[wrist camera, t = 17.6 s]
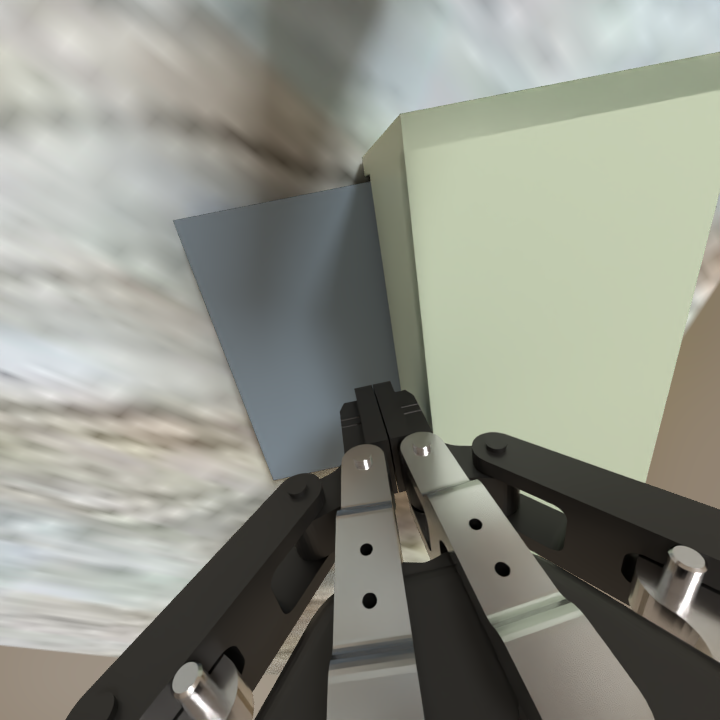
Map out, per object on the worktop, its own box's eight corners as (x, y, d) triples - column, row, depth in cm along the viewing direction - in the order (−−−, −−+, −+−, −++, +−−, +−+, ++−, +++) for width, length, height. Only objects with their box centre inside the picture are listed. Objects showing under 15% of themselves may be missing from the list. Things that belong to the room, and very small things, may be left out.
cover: (406, 451, 24) (448, 574, 16) (362, 157, 16) (400, 113, 8) (529, 425, 24) (632, 535, 16) (545, 121, 16) (757, 44, 8)
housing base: (276, 464, 24) (264, 534, 19) (185, 219, 17) (126, 225, 12) (555, 405, 24) (617, 459, 19) (579, 141, 17) (685, 115, 12)
